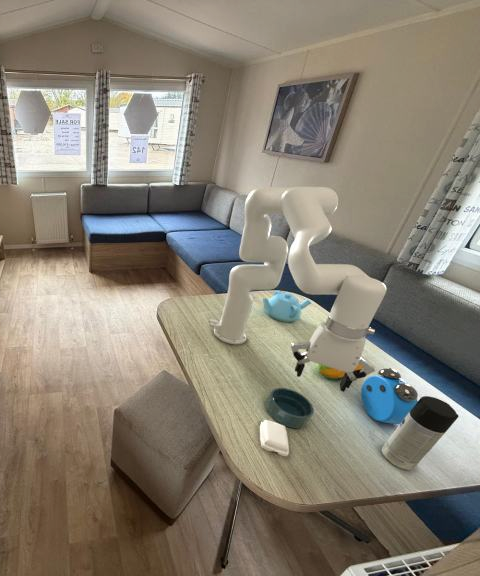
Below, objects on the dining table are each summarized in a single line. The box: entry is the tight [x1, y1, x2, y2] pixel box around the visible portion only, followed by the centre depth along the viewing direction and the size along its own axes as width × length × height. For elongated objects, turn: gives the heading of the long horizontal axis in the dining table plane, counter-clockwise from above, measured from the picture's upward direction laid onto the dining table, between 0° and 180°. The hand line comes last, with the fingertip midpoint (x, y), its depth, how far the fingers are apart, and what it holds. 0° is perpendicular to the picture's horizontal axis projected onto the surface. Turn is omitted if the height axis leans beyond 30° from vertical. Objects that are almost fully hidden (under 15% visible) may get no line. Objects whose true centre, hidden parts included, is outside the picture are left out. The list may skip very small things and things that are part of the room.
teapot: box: [262, 290, 312, 323], centre depth 140 cm, size 15×17×11 cm
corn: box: [317, 364, 363, 380], centre depth 107 cm, size 7×8×20 cm
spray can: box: [381, 395, 459, 471], centre depth 77 cm, size 7×7×20 cm
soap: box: [259, 419, 290, 457], centre depth 85 cm, size 9×7×3 cm
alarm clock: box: [360, 367, 419, 426], centre depth 90 cm, size 13×6×15 cm, turn 171°
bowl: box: [265, 387, 315, 429], centre depth 92 cm, size 11×11×5 cm
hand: (319, 380), depth 81 cm, fingers open, 9 cm apart
